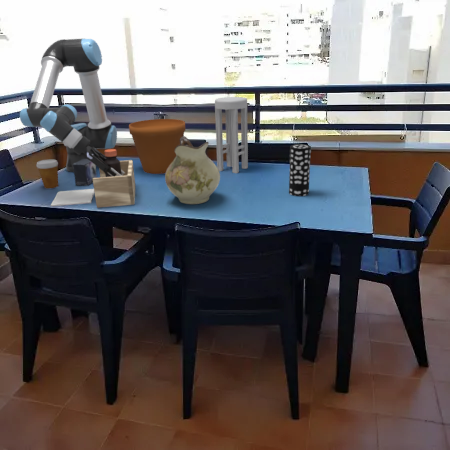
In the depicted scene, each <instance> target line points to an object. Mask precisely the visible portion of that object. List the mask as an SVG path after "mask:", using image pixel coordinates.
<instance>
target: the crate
mask: <svg viewBox="0 0 450 450" xmlns="http://www.w3.org/2000/svg"><path fill="white" fill-rule="evenodd" d="M119 161H120V165H121V170H122V171H123V172H125V173H124V174H123V176H114V177H106V176H105V173H104V172H103V171H102V170H101V169H100V168H98V169H99V170H98V171H99V177H97V178H93V183H92V184H93V189H94V197H95V204H96V208H107V207H108V208H109V207H121V206H131V205H133V206H134V205H135V200H136V177H135V172H134V169H135V168H134V162H133V159H128V160H127V159H126V160H119Z"/></svg>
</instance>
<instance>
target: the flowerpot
mask: <svg viewBox="0 0 450 450" xmlns="http://www.w3.org/2000/svg"><path fill="white" fill-rule="evenodd" d="M128 131H129V135H131V138H132V140H133V144H134V146H135V150H136V152H137V155H138V158H139V161H140V165H141V167H142V170H143V172H144V173H146V174H151V175H163V174H164V175H165V174H166V171H167V169H168V167H169V165H170V164H171V163H172V162H173V160H174V158H175V157H176V153H175V152H174V150H175V147H177V146H178V145H180V141H179V140H180V138H181V137H182V136H184V135H185V131H186V122H185V121H184V120H182V119H176V118H175V119H174V118H158V119H157V118H154V119H153V118H152V119H145V120H137V121H134V122H131V123H129V125H128Z"/></svg>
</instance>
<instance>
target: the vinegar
mask: <svg viewBox="0 0 450 450" xmlns="http://www.w3.org/2000/svg"><path fill="white" fill-rule="evenodd" d="M104 155H105V157H106V160H105V163H106V164H107V165H108V166H109V167H110V168H113V169H114V170H115V171H117V172H118V173H119V174H121V175H122V173H121V165H120V161H121V160H119V159H118V158H117V156H118V151H117V149H114V148H111V149H104ZM105 176H106V177H112V176H111V175H110V174H108V173H107V174H105Z"/></svg>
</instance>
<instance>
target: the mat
mask: <svg viewBox="0 0 450 450" xmlns="http://www.w3.org/2000/svg"><path fill="white" fill-rule="evenodd" d="M94 196H95V192H94V188H86V189H73V190H60V191H57V193H56V194H55V196H54V199H53V200H52V202H51V204H50V206H51V207H59V206H61V207H62V206H70V205H82V204H92V201H93V199H94Z"/></svg>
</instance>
